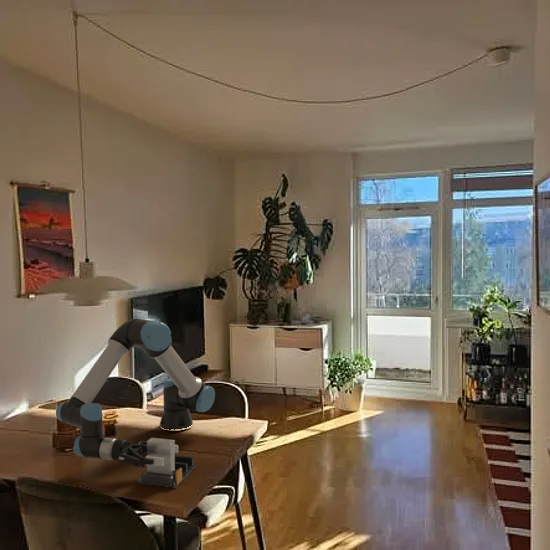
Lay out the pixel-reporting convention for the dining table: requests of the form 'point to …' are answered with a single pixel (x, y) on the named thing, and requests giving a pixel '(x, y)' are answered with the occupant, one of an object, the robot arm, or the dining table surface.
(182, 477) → the rack
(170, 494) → the dining table surface
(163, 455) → the panel
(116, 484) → the dining table surface
